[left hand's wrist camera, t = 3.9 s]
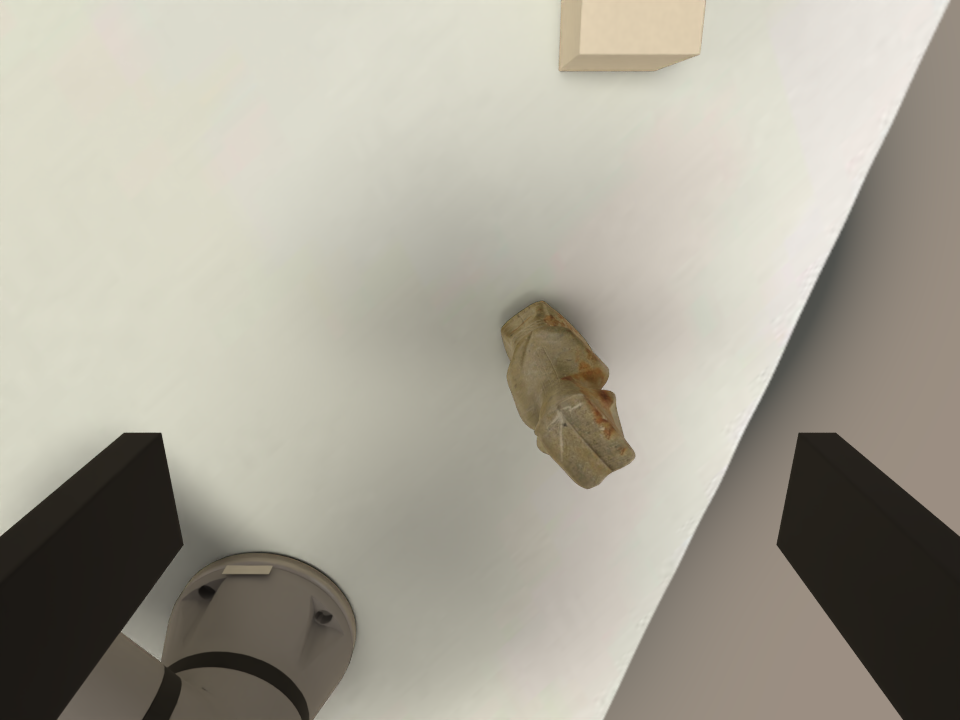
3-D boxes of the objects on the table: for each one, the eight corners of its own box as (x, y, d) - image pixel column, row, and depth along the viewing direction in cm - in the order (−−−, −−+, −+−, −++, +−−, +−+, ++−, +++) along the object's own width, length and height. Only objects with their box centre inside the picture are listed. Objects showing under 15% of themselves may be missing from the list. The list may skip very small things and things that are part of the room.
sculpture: (538, 399, 46) (565, 517, 32) (483, 323, 44) (485, 412, 30) (606, 357, 45) (664, 460, 31) (553, 277, 43) (589, 347, 29)
